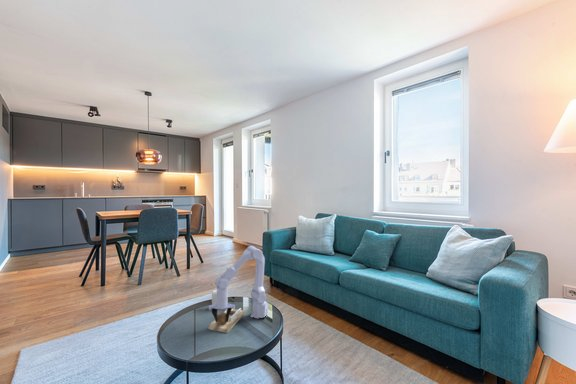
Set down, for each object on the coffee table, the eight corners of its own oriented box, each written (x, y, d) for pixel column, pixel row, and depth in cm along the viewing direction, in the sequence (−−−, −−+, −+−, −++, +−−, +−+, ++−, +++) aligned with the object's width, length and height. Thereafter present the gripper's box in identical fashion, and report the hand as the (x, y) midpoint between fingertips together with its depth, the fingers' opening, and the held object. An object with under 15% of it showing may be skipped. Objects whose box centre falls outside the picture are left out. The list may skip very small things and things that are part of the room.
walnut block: (227, 321, 156) (227, 313, 156) (223, 325, 152) (223, 316, 152) (221, 320, 158) (220, 311, 157) (216, 324, 153) (216, 315, 153)
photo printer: (227, 304, 182) (227, 286, 181) (228, 307, 177) (227, 289, 177) (211, 306, 178) (211, 288, 178) (212, 309, 174) (211, 291, 173)
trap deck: (244, 313, 169) (244, 310, 169) (227, 332, 148) (227, 329, 148) (228, 311, 173) (228, 308, 172) (208, 329, 152) (208, 325, 151)
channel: (241, 311, 169) (241, 308, 168) (231, 321, 156) (231, 318, 156) (230, 309, 171) (230, 306, 171) (219, 319, 159) (219, 316, 158)
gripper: (235, 294, 158) (235, 316, 159) (210, 295, 157) (211, 317, 158) (233, 300, 151) (233, 323, 152) (207, 300, 150) (208, 324, 151)
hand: (222, 320), depth 154 cm, fingers closed on walnut block, 6 cm apart
